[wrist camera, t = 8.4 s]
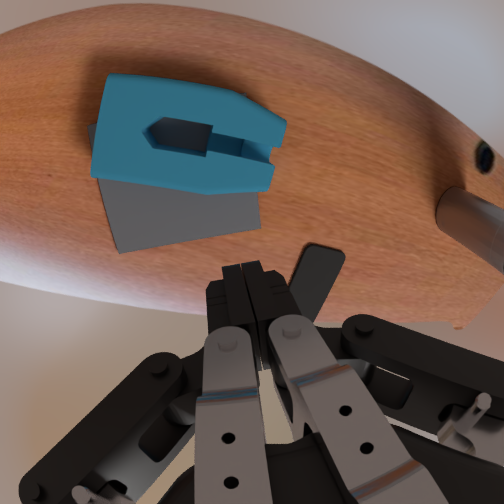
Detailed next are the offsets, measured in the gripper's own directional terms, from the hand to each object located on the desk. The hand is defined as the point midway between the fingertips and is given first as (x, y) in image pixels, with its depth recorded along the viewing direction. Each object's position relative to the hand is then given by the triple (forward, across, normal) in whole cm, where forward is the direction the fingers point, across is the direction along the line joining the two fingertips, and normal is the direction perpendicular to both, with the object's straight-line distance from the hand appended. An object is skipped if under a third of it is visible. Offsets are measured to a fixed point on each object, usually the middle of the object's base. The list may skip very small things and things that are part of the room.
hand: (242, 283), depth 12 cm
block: (+23, -7, -1) cm, 24 cm away
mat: (+26, +5, 0) cm, 27 cm away
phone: (+27, -12, +21) cm, 36 cm away
